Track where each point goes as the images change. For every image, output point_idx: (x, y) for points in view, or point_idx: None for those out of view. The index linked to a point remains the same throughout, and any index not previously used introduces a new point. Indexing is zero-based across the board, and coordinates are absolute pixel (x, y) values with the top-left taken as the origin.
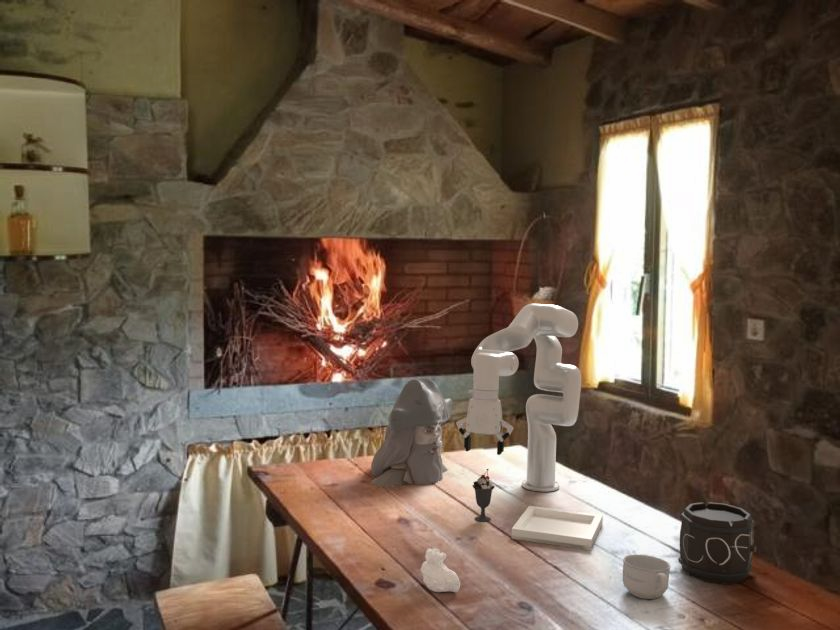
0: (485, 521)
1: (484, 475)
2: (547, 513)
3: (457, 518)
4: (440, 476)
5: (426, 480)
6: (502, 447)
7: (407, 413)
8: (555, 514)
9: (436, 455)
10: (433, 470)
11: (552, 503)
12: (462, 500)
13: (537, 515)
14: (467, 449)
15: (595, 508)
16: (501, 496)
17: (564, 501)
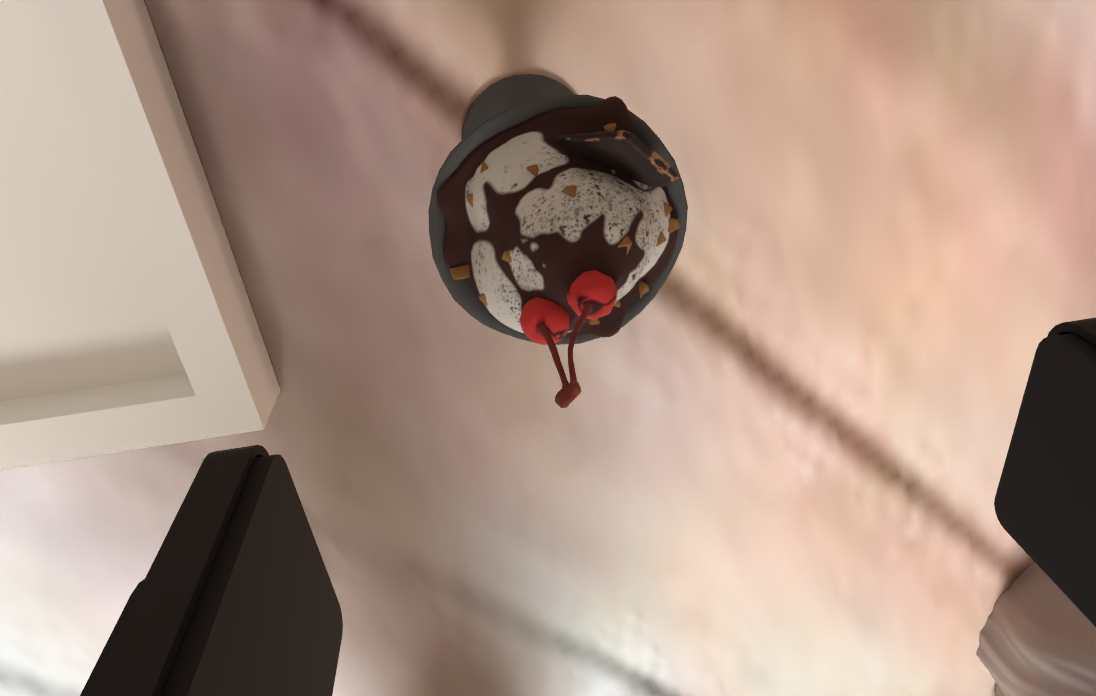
0: (482, 93)
1: (575, 295)
2: (102, 397)
3: (713, 57)
4: (999, 647)
5: None
6: (97, 668)
7: None
8: (39, 406)
9: None
10: (1074, 638)
11: None
12: (787, 423)
13: (184, 370)
14: (1089, 347)
15: (25, 676)
16: (592, 587)
17: None
